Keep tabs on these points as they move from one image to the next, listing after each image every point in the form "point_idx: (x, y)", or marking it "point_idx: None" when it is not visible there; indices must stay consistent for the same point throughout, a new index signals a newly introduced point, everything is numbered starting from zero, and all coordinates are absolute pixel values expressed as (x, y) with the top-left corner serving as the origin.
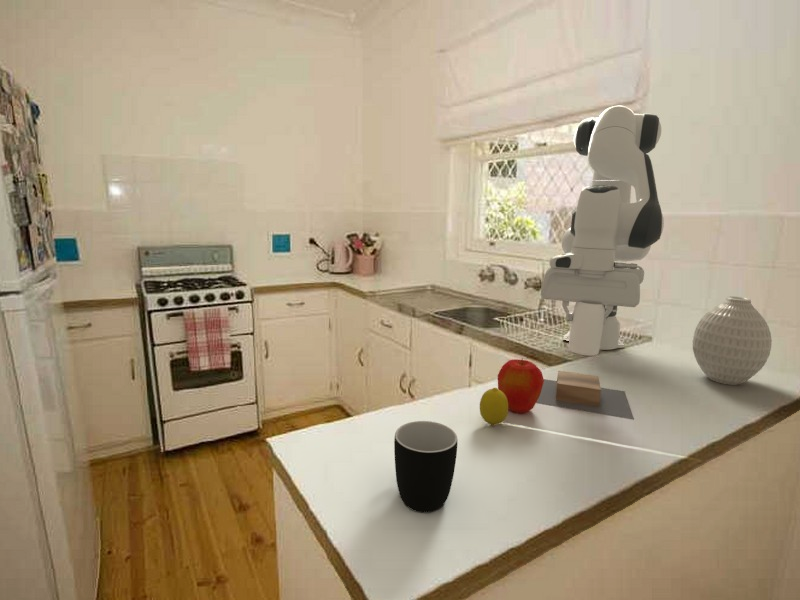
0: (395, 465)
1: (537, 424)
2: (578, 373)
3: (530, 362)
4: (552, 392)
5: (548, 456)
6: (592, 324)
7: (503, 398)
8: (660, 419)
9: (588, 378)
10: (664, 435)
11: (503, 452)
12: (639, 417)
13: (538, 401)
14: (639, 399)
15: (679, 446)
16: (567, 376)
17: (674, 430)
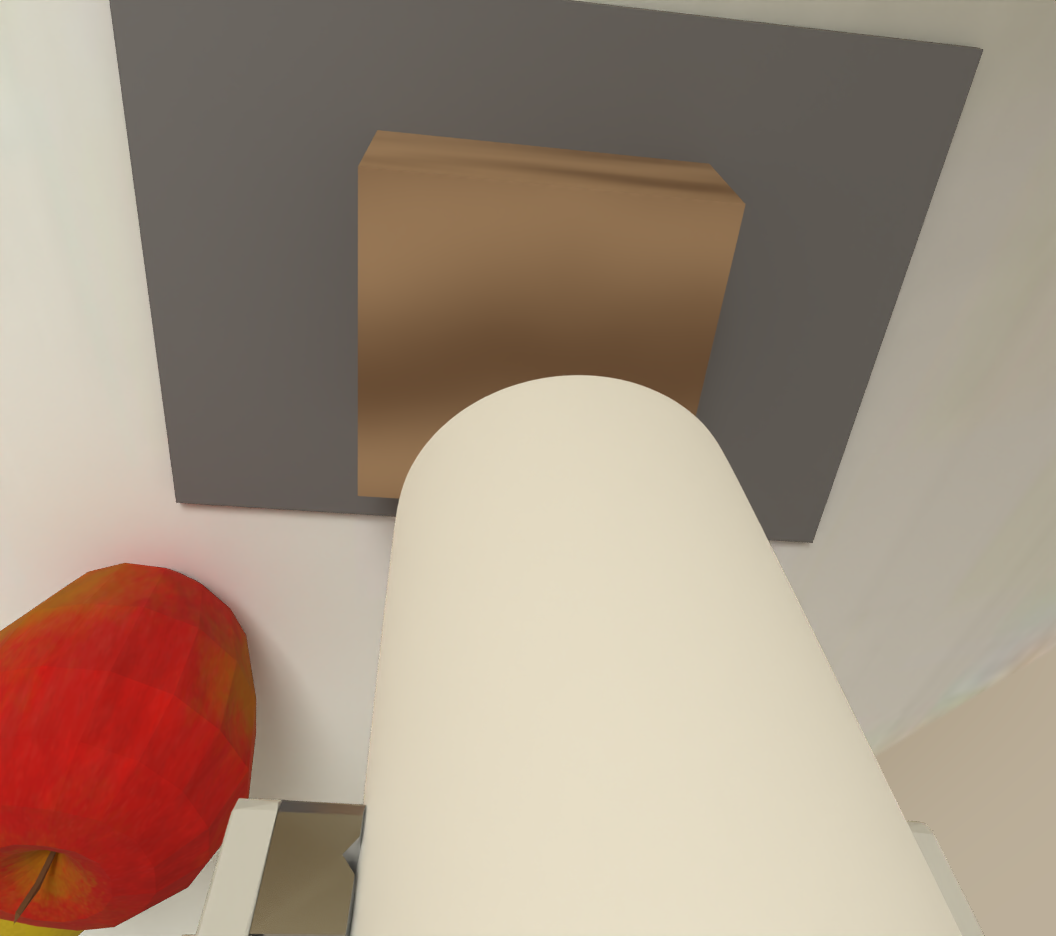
0: None
1: (292, 700)
2: (560, 190)
3: (94, 846)
4: (347, 295)
5: None
6: None
7: (79, 932)
8: (987, 467)
9: (632, 299)
10: (897, 630)
11: (197, 895)
12: (867, 478)
13: (263, 483)
14: (1033, 168)
15: (908, 698)
16: (445, 311)
17: (984, 570)
